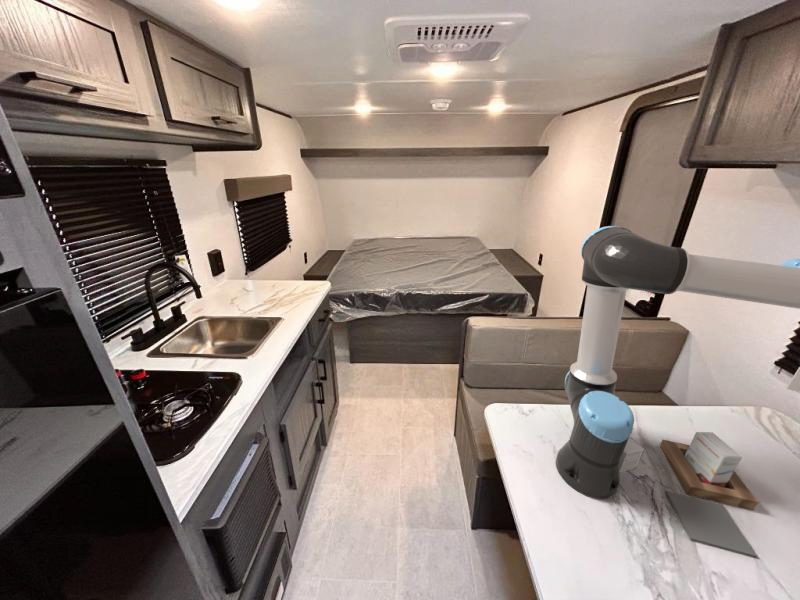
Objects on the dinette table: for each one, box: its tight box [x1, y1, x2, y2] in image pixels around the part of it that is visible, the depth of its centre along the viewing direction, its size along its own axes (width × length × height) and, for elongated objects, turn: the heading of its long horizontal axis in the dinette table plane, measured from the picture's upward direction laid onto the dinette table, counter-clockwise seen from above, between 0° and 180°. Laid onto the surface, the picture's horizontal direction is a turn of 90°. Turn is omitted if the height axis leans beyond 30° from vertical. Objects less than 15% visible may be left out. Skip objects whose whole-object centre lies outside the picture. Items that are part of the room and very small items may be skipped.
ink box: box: [685, 431, 742, 488], centre depth 85 cm, size 9×5×12 cm, turn 179°
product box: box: [618, 437, 644, 473], centre depth 90 cm, size 6×6×7 cm
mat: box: [665, 490, 758, 558], centre depth 76 cm, size 12×12×1 cm
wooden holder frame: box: [659, 439, 760, 511], centre depth 87 cm, size 14×16×3 cm
